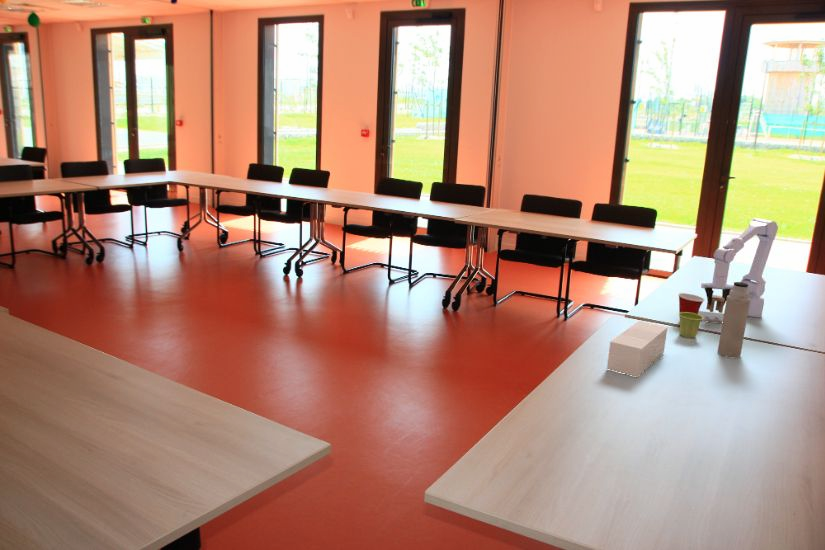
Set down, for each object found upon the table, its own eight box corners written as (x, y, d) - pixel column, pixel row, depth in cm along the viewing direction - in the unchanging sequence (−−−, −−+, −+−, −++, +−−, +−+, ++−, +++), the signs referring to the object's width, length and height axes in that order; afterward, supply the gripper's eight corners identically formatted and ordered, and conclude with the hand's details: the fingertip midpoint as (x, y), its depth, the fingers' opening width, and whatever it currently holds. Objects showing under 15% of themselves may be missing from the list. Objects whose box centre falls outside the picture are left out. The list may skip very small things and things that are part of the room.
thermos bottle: (716, 349, 268) (728, 279, 262) (739, 352, 266) (751, 282, 259) (718, 355, 261) (730, 284, 254) (741, 359, 259) (754, 286, 252)
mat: (728, 314, 316) (728, 314, 316) (736, 325, 301) (736, 324, 301) (691, 311, 319) (691, 310, 319) (697, 321, 304) (698, 320, 304)
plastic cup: (704, 327, 296) (709, 300, 293) (679, 325, 296) (683, 298, 293) (695, 319, 307) (699, 293, 304) (670, 318, 307) (674, 291, 304)
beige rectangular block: (637, 378, 235) (641, 348, 232) (606, 370, 240) (610, 341, 238) (663, 354, 260) (667, 327, 258) (635, 347, 266) (639, 320, 263)
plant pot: (700, 334, 285) (703, 314, 283) (699, 341, 277) (702, 320, 275) (676, 330, 289) (679, 310, 287) (674, 336, 281) (677, 316, 278)
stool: (718, 309, 312) (720, 295, 311) (722, 312, 307) (724, 298, 306) (706, 308, 312) (708, 294, 311) (710, 311, 307) (712, 297, 306)
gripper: (734, 274, 309) (729, 303, 312) (700, 271, 310) (696, 301, 313) (740, 278, 302) (734, 307, 305) (706, 275, 303) (701, 305, 306)
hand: (715, 304), depth 309 cm, fingers closed on stool, 5 cm apart
